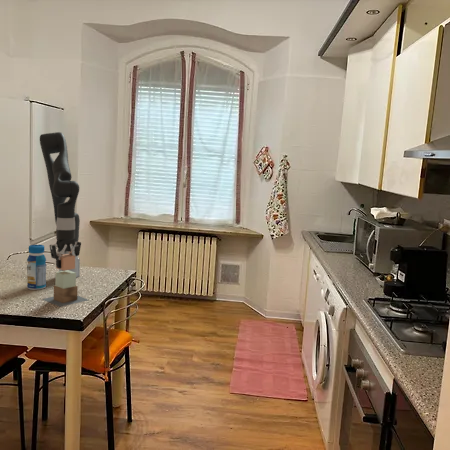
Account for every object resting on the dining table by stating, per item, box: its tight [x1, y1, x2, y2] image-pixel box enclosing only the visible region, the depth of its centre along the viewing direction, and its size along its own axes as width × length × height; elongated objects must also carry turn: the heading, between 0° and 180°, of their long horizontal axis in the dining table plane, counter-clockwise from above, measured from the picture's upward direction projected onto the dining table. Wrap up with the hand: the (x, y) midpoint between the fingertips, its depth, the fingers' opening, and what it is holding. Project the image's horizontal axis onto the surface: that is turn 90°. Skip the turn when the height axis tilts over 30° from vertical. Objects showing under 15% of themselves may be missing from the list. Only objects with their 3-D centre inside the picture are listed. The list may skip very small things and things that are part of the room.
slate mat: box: [42, 295, 89, 308], centre depth 200 cm, size 14×14×1 cm
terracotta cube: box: [55, 254, 75, 271], centre depth 197 cm, size 6×6×6 cm
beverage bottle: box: [26, 244, 47, 291], centre depth 214 cm, size 8×8×20 cm
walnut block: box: [53, 285, 78, 303], centre depth 199 cm, size 7×7×6 cm
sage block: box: [54, 270, 77, 289], centre depth 198 cm, size 6×6×6 cm
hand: (65, 266), depth 198 cm, fingers closed on terracotta cube, 5 cm apart
